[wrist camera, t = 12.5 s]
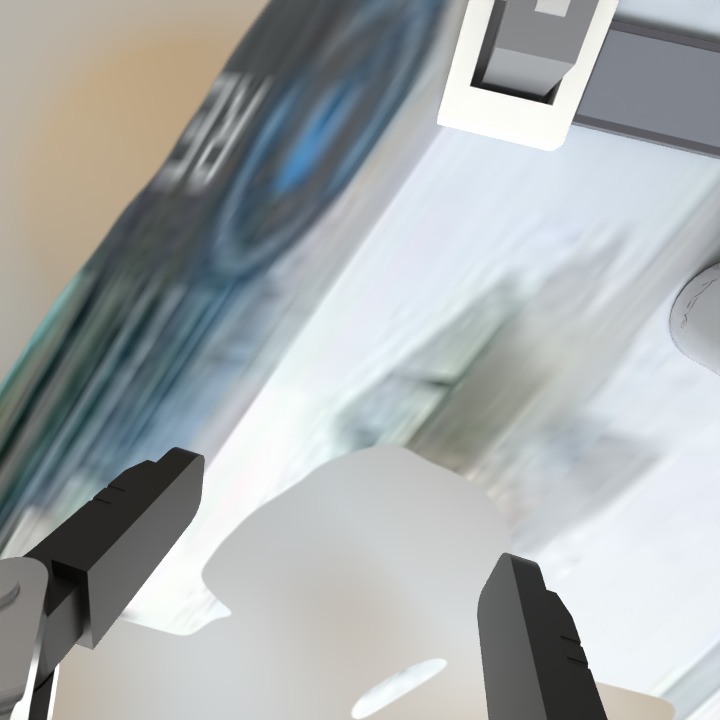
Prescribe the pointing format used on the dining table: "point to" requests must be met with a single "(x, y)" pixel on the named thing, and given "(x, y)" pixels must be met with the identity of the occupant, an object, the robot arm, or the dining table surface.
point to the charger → (536, 45)
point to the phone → (655, 89)
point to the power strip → (508, 113)
